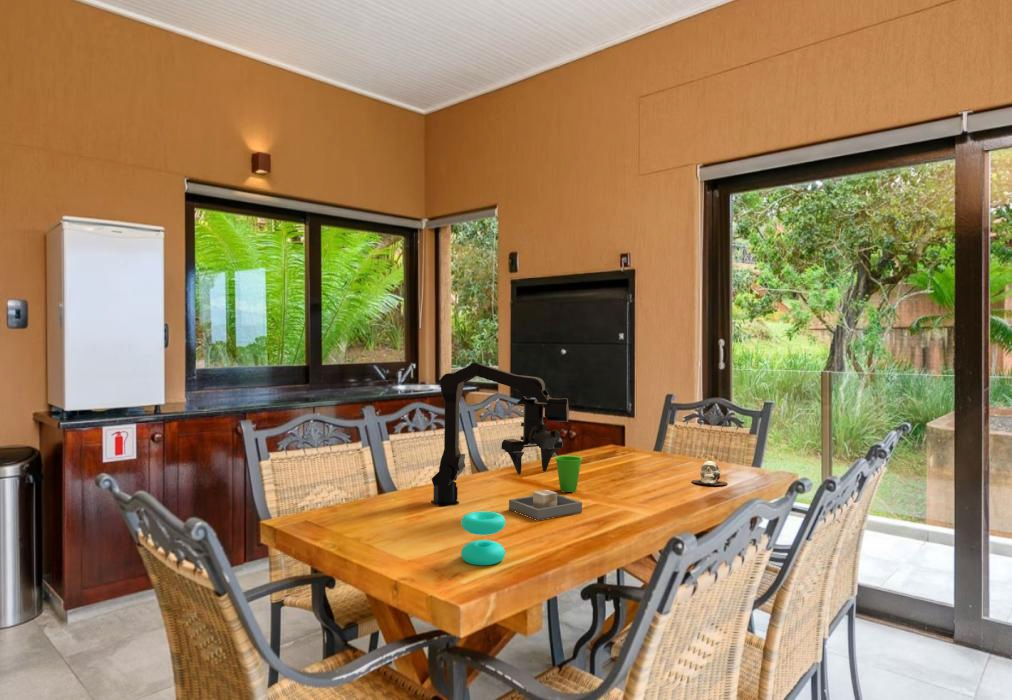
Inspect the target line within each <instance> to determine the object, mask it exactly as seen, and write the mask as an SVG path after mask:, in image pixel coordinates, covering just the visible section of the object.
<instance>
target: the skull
mask: <svg viewBox="0 0 1012 700" xmlns="http://www.w3.org/2000/svg"><path fill="white" fill-rule="evenodd" d="M700 478H701V479H692V480H691V483H696V484H699V485H700V484H702V485H705V486H706V485H707V486H727V485H728V484H729V483H728V482H726V481H721V480H720V479H721V468H720V467H719V465H718V464H717V463H716V462H714V461H710V460H707V461H705V462H704V463H702V465H701V467H700ZM719 480H720V481H719Z"/></svg>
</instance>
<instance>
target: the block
mask: <svg viewBox="0 0 1012 700" xmlns="http://www.w3.org/2000/svg"><path fill="white" fill-rule="evenodd" d="M557 495H558V492H555V491H552V490H548V489H543V490H536V491H533V492H532V496H533V507H534V508H537V509H541V508H547V507H553V506H557Z"/></svg>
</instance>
